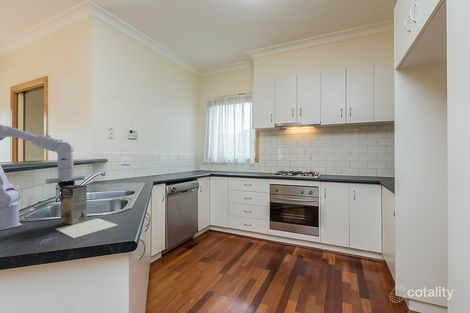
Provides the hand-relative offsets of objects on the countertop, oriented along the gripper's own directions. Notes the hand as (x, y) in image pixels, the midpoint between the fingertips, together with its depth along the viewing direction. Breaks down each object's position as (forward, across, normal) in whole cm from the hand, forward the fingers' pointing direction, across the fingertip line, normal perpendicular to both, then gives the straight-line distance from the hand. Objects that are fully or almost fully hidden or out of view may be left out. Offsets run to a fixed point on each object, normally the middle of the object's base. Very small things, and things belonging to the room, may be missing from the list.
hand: (67, 197), depth 102 cm
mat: (+10, 0, -21) cm, 23 cm away
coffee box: (+10, 0, -7) cm, 13 cm away
